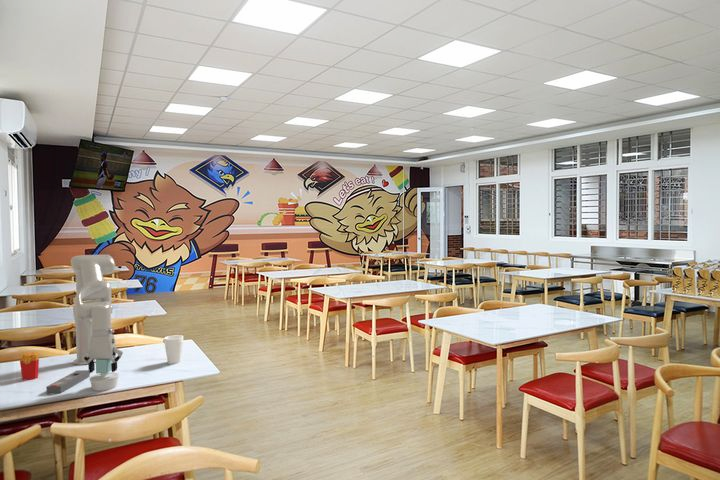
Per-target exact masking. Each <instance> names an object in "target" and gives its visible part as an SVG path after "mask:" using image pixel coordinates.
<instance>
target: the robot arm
mask: <svg viewBox="0 0 720 480" xmlns="http://www.w3.org/2000/svg"><path fill="white" fill-rule="evenodd" d="M70 265H71V268H72V269H73V272H74V275H75V286H76V288H75V289H76V290H75V291H76V294H75V297H74V305H73V307H72V313H73V320H74V324H75V325H74V326H75V327H74V328H75V344H76V347H75V348H76V349H75V350H76V358H75V359H73V364H74V365H79V366H80V365H84V366H85V365H88V366H87V367H88V370H89V372H91V373H93V372H94V371H96V359H110V360H111V361H112V363H111V371H110V372H114V373H115V372H116V371H117V369H118V362H119V360H120V359H121V358H122V356H123V353H124V352H123V351H122V350H120V349H117V343H116V337H115V336H114V333H115V330H114V329H113V328H112V317H111V315H112V313H113V305H112V286H111V284H110V282H109V281H106V280H104V275H109V274H111V275H112V274H113V273H114V272H115V270H116V263H115V259H114V257H112V256H111V255H110V254H108V253H107V254H84V255H83V254H82V255H74V256H73V257H71V260H70ZM92 371H93V372H92Z"/></svg>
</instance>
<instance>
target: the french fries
mask: <svg viewBox="0 0 720 480" xmlns="http://www.w3.org/2000/svg"><path fill="white" fill-rule="evenodd" d="M39 356H40V353H38V352H35V351H33V352H26V353H25V352H24V353H21V354H20V360H19V365H20V372H21V378H22V381H23V380H25V381H28V380H36V379H38V378H39V365H40V359H39Z"/></svg>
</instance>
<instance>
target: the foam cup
mask: <svg viewBox="0 0 720 480" xmlns="http://www.w3.org/2000/svg"><path fill="white" fill-rule="evenodd" d="M163 343H164V347H165V353H166V359H167V364H169V365H176V364H180V363H181V362H182V353H183V344H184V335H182V334H181V335H180V334H174V335H168V336H165V337H163Z"/></svg>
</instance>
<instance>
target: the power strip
mask: <svg viewBox="0 0 720 480" xmlns="http://www.w3.org/2000/svg"><path fill="white" fill-rule="evenodd" d="M93 372H94V371H92V372H89V369H88V370H87V369H86V370H85V369H84V370H75V371H73V372H71V373H69V374H67V375H66V376H64V377H62V378H59V379H58V380H57V381H55V382H53V383H51V384H49V385H47V386H46V387H45V388H46V394H50V393H54V394H62V393H65V392H66V391H68V390H70V389H71V388H73V387H74V386H76V385H78V384H79V383H82V381H84V380H87V379H88V378H90V377H91V376H90V374H91V373H93ZM50 395H51V394H50Z"/></svg>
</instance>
